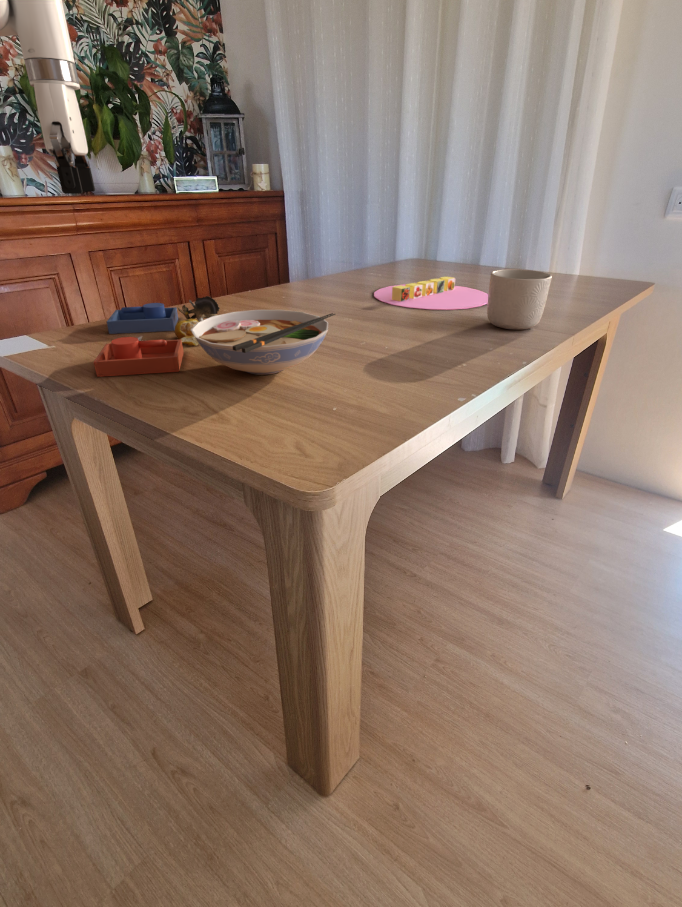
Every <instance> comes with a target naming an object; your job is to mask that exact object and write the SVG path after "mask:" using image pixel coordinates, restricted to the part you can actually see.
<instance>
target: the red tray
mask: <svg viewBox="0 0 682 907" xmlns="http://www.w3.org/2000/svg"><path fill="white" fill-rule="evenodd" d="M166 342H167V345H166V346H164V347H147V348H140V349H141V354H142V358H134V359H118V360H115V357H114V352H113V348H112V344H111V342H110V343H109V342H107V343H105V344H104V346H103V348H102V349H101V350H100V352H99V353H98V355H97V356H96V358H95V359H94V361H93V366H94V370H95V374H96V377H97V378H99V377H100V378H101V377H115V376H132V375H145V374H146V375H147V374H161V373H162V374H163V373H164V374H165V373H176V372H177V373H179V372H180V370H181V365H182V361H183V357H184V353H185V352H184V347H183V344H182V340H178V339H166Z"/></svg>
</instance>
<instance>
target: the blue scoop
mask: <svg viewBox="0 0 682 907" xmlns="http://www.w3.org/2000/svg"><path fill="white" fill-rule="evenodd" d="M165 308H166V307H165V304H164V303H163V302H162V303H161V302H149V303H145V304H143V305H142V306H124V307H121V309H120V310H121V311H122V312H123V313H137V312H144V316H145V319H160V318H166V313H165Z"/></svg>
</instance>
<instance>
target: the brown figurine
mask: <svg viewBox="0 0 682 907" xmlns="http://www.w3.org/2000/svg"><path fill="white" fill-rule="evenodd" d="M188 301H189V304H190V305H191V306H192V309H189V307H187V306H186V304H183V305H182V306H181V308H180V307H179V306H177V311H179V312H180V313H181V314H182V315H183V316H184V317H185V320H187V319H196V320H198V321H199V322H200V321H202V320H204V319H207V318H210V317H212V316H216V315H219V312H220V310H221V308H220V306H219V304H218V302H217V301H216V299H214V298H212V297H211V296H208V295H206V296H203V297H197V298H196V300H195V301H194V302H193V301H192V300H191V299H188ZM191 314H193V315H191ZM190 315H191V316H190Z"/></svg>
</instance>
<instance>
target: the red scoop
mask: <svg viewBox="0 0 682 907" xmlns="http://www.w3.org/2000/svg"><path fill="white" fill-rule="evenodd" d="M166 340H167V339H166ZM166 340H165V339H150V340H148V339H147V340H139V338H138V337H134V336H123V337H122V336H121V337H118V338H115V339H112V340H111V342H110V343H111V344H112V348H113V352H114V357H115V360H118V359H134V358H142V354H141V349H140V348H147V347H164V346H166V345H167V342H166Z"/></svg>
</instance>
